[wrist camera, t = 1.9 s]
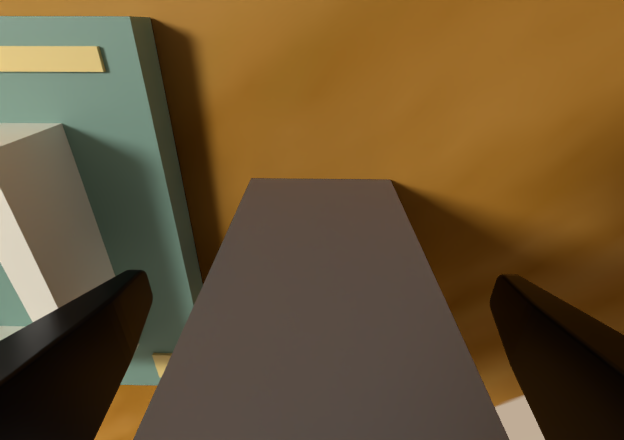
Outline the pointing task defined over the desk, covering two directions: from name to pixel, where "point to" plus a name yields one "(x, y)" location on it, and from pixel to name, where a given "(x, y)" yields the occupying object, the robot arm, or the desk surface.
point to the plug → (320, 329)
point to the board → (110, 157)
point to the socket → (46, 221)
